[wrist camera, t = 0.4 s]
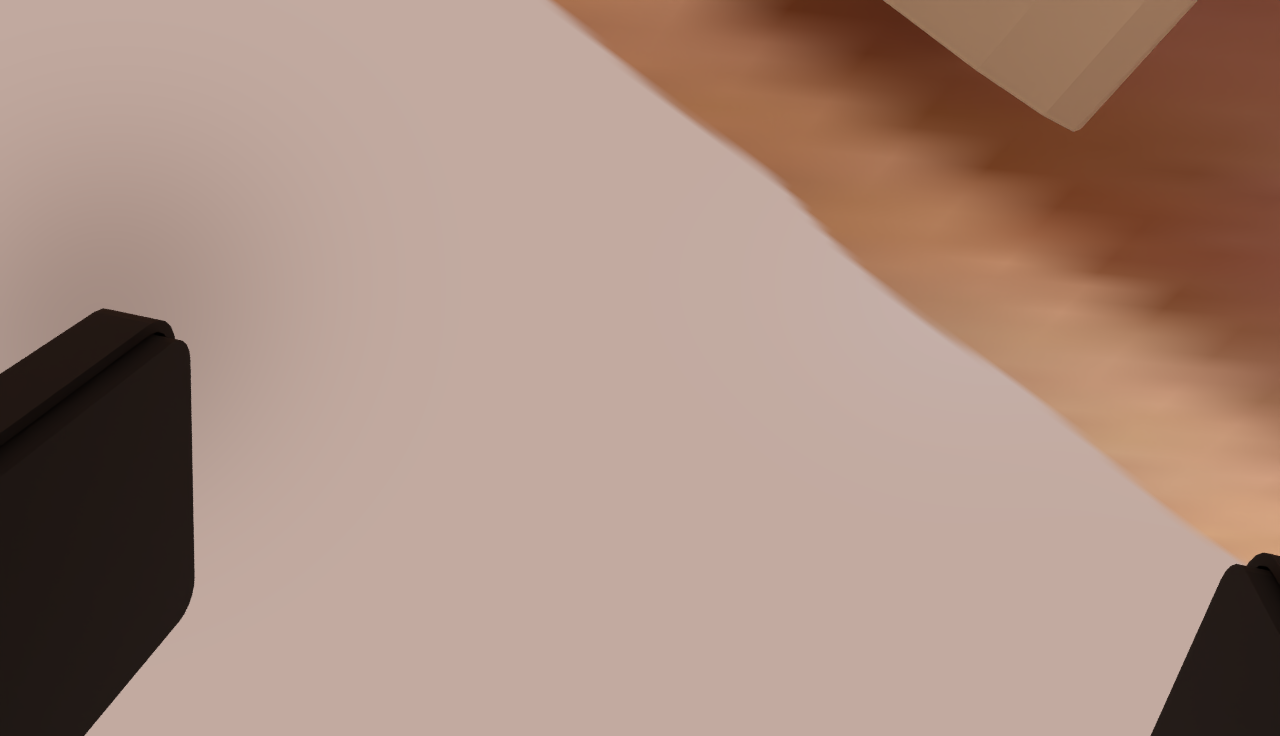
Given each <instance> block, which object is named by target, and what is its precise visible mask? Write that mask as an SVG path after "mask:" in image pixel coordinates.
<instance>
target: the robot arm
mask: <svg viewBox="0 0 1280 736" xmlns="http://www.w3.org/2000/svg"><path fill="white" fill-rule="evenodd" d="M193 526H194V525H193V474H192V421H191V369H190V353H189V349H188V347H187V345H186V343H184V342H183V341H181V340H177V339H175V336H174V333H173V331H172V328H171V326H170V325H169V324H168V323H167V322H166V321H162V320H157V319H152V318H148V317H143V316H138V315H133V314H128V313H123V312H119V311H114V310H109V309H101V310H98V311H96V312H94V313H92V314H91V315H89V316H88V317H86V318H85V319H83V320H82V321H80V322H78V323H77V324H75V325H74V326H73V327H71V328H69V329H68V330H66V331H65V332H63V333H62V334H60V335H59V336H57V337H56V338H54V339H53V340H51V341H50V342H48V343H47V344H45V345H43V346H42V347H40V348H39V349H37V350H36V351H34V352H33V353H31V354H30V355H29V356H27V357H25V358H24V359H22V360H21V361H20V362H18V363H16V364H15V365H13V366H12V367H10V368H9V369H7V370H5V371H4V372H3V373H1V374H0V736H84V735H85V734H86V733H87V732H88V730H89V729H90V728H91V727H92V726H93V724H94V723H95V722H96V721H97V720H98V718H99V717H100V716H101V715H102V714H103V712H104V711H105V710H106V709H107V708H108V706H109V705H110V704H111V703H112V702H113V700H114V699H115V698H116V697H117V696H118V694H119V693H120V692H121V691H122V690H123V688H124V687H125V686H126V685H127V684H128V682H129V681H130V680H131V679H132V677H133V676H134V675H135V674H136V673H137V671H138V670H139V669H140V668H141V667H142V665H143V664H144V663H145V662H146V661H147V659H148V658H149V657H150V656H151V655H152V653H153V652H154V651H155V650H156V649H157V647H158V646H159V645H160V644H161V643H162V641H163V640H164V639H165V638H166V636H167V635H168V634H169V633H170V632H171V630H172V629H173V628H174V627H175V626H176V625H177V623H178V622H179V621H180V619H181V618H182V617H183V615H184V613H185V611H186V609H187V607H188V605H189V602H190V599H191V596H192V593H193V588H194V527H193ZM1151 736H1280V556H1277V555H1273V554H1268V553H1261V554H1258V555H1256V556H1255V557H1254V558H1253V559H1252V560H1251V561H1250V562H1249V563H1248V565H1247V566H1244V565H1239V564H1235V565H1232V566H1230V567H1229V568H1228V569H1227V571H1226V572H1225V573H1224V575H1223V577H1222V579H1221V580H1220V583H1219V585H1218V587H1217V589H1216V592H1215V594H1214V596H1213V598H1212V600H1211V603H1210V605H1209V607H1208V609H1207V612H1206V614H1205V616H1204V618H1203V621H1202V623H1201V625H1200V627H1199V629H1198V632H1197V634H1196V636H1195V638H1194V641H1193V643H1192V645H1191V647H1190V649H1189V652H1188V654H1187V657H1186V658H1185V661H1184V663H1183V665H1182V667H1181V670H1180V672H1179V674H1178V676H1177V679H1176V681H1175V683H1174V685H1173V688H1172V690H1171V692H1170V694H1169V696H1168V698H1167V701H1166V703H1165V705H1164V708H1163V710H1162V712H1161V714H1160V716H1159V718H1158V721H1157V723H1156V725H1155V727H1154V729H1153V732H1152V734H1151Z"/></svg>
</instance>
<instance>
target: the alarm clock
mask: <svg viewBox="0 0 1280 736" xmlns="http://www.w3.org/2000/svg"><path fill="white" fill-rule="evenodd" d="M883 1H885V2H886V3H887V4H889V5H890V6H891V7H893V8H894V9H895V10H897V11H898V12H899V13H901V14H902V15H903V16H905V17H906V18H907V19H909V20H910V21H911V22H913V23H914V24H915V25H917V26H918V27H919V28H921V29H922V30H923V31H925V32H926V33H927V34H929V35H930V36H931V37H933V38H934V39H935V40H936V41H938V42H939V43H940V44H942V45H943V46H944V47H946V48H947V49H948V50H950V51H951V52H952V53H954V54H955V55H956V56H958V57H959V58H960V59H962V60H963V61H964V62H966V63H967V64H968V65H970V66H971V67H972V68H974V69H975V70H976V71H978V72H979V73H981V74H982V75H984V76H985V77H987V78H988V79H990V80H991V81H992V82H994V83H995V84H997V85H998V86H1000V87H1001V88H1003V89H1004V90H1006V91H1007V92H1009V93H1010V94H1012V95H1013V96H1015V97H1016V98H1018V99H1019V100H1021V101H1022V102H1024V103H1025V104H1027V105H1028V106H1029V107H1031V108H1032V109H1034V110H1035V111H1037V112H1038V113H1040V114H1041V115H1043V116H1045V117H1046V118H1048V119H1050V120H1052V121H1054V122H1056V123H1058V124H1060V125H1061V126H1063V127H1065V128H1067V129H1069V130H1071V131H1073V132H1074V131H1077V130H1080V129H1081V128H1082V127H1083V126H1084V125H1085V124H1086V123H1087V122H1088V121H1089V119H1090V118H1091V117H1092V116H1093V115H1094V114H1095V113H1096V112H1097V111H1098V110H1099V108H1100V107H1101V106H1102V105H1103V104H1104V103H1105V102H1106V101H1107V100H1108V99H1109V97H1110V96H1111V95H1112V94H1113V93H1114V92H1115V91H1116V90H1117V89H1118V88H1119V86H1120V85H1121V84H1122V83H1123V82H1124V81H1125V80H1126V79H1127V78H1128V77H1129V75H1130V74H1131V73H1132V72H1133V71H1134V70H1135V69H1136V68H1137V67H1138V66H1139V64H1140V63H1141V62H1142V61H1143V60H1144V59H1145V58H1146V57H1147V56H1148V55H1149V53H1150V52H1151V51H1152V50H1153V49H1154V48H1155V47H1156V46H1157V45H1158V44H1159V42H1160V41H1161V40H1162V39H1163V38H1164V37H1165V36H1166V35H1167V34H1168V33H1169V31H1170V30H1171V29H1172V28H1173V27H1174V26H1175V25H1176V24H1177V23H1178V21H1179V20H1180V19H1181V18H1182V17H1183V16H1184V15H1185V14H1186V13H1187V12H1188V10H1189V9H1190V8H1191V7H1192V6H1193V5H1194V4H1195V3H1196V2H1197V1H1198V0H883Z"/></svg>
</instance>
